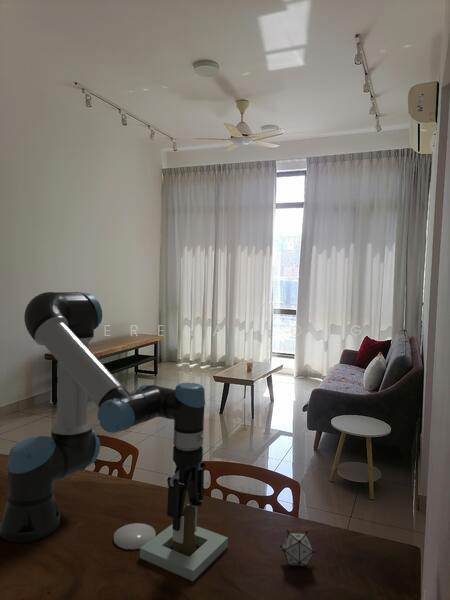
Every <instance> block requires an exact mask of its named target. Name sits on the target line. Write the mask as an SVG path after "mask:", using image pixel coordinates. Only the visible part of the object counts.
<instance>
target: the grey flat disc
mask: <svg viewBox="0 0 450 600" xmlns="http://www.w3.org/2000/svg"><path fill="white" fill-rule="evenodd" d="M155 536H157V535H156V530H155V528H154V527H153V526H151V525H149V524H147V523H138V522H137V523H136V522H134V523H129V524H125V525H123V526H122V527H119V528H118V529H117V530H115V532H114V534H113V542H114V544H115V545H116V546H117V547H118V548H120V549H122V550H128V549H129V550H130V549H131V551H133V550H140V548H141V547H142V546H143V545H145V544H146V543H147V542H149V541H150V540H151V539H153V538H154V537H155ZM129 550H128V551H129Z"/></svg>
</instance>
